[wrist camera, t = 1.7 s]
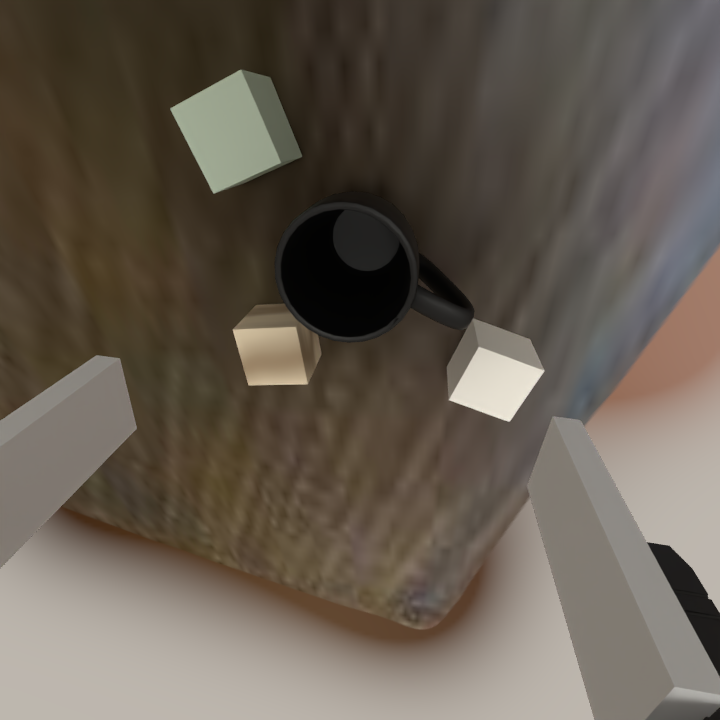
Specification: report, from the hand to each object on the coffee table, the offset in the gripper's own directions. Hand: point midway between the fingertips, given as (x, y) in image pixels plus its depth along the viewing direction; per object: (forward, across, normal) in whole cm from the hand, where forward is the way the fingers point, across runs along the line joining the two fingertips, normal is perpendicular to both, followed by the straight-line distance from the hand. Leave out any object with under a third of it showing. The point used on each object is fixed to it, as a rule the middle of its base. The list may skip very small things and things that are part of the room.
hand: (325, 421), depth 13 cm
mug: (+22, 0, 0) cm, 22 cm away
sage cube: (+22, -10, +7) cm, 25 cm away
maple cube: (+22, -8, -8) cm, 25 cm away
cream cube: (+22, +9, -8) cm, 25 cm away
